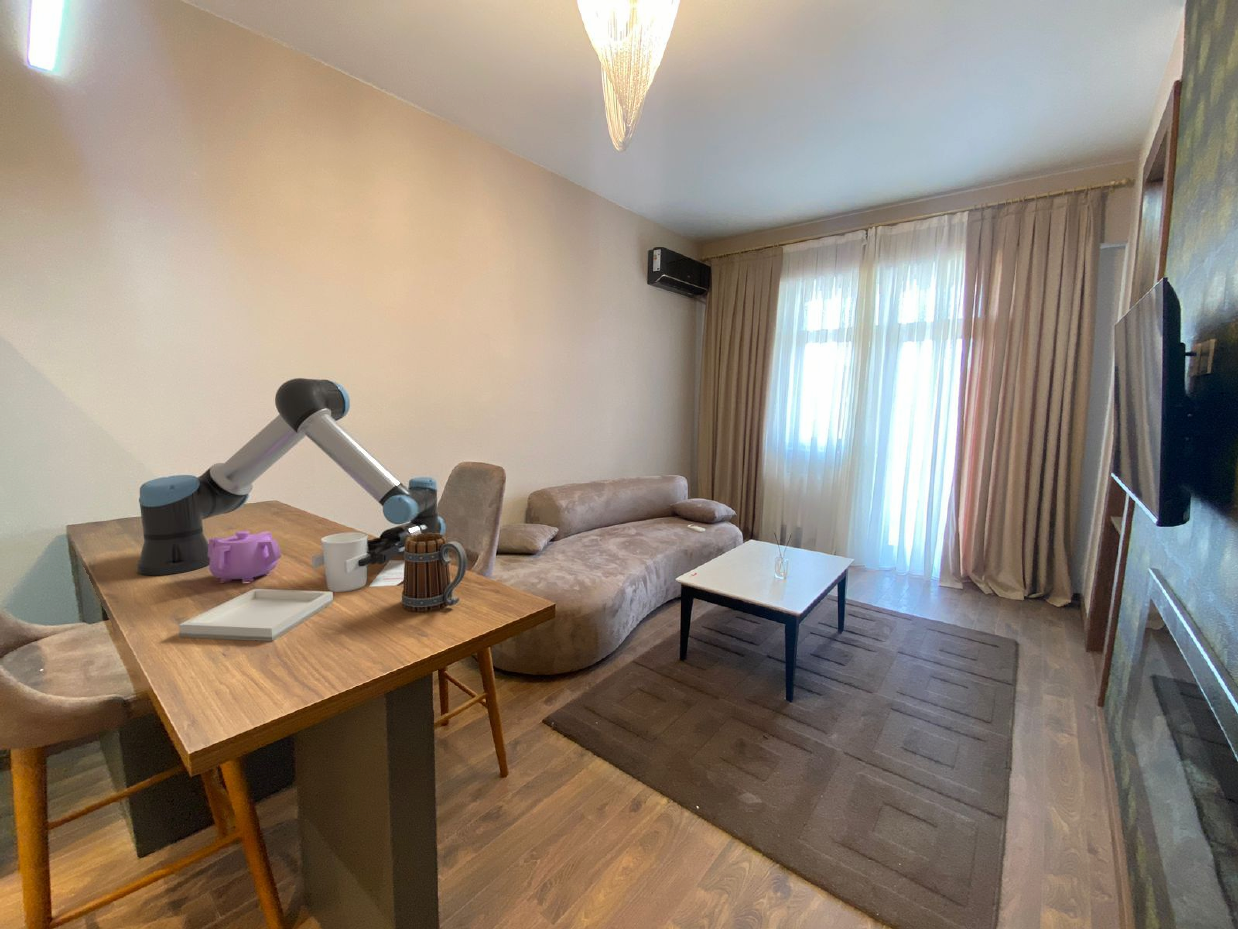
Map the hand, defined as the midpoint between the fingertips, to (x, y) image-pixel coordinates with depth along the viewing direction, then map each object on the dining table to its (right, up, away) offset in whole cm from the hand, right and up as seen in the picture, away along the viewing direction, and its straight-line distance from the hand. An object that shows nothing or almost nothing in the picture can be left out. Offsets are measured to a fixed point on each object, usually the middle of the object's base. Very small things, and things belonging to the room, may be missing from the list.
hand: (329, 564), depth 115 cm
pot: (-26, -5, +10) cm, 29 cm away
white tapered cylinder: (+1, -6, +5) cm, 8 cm away
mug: (+27, -8, -5) cm, 28 cm away
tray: (-6, -8, -13) cm, 17 cm away
